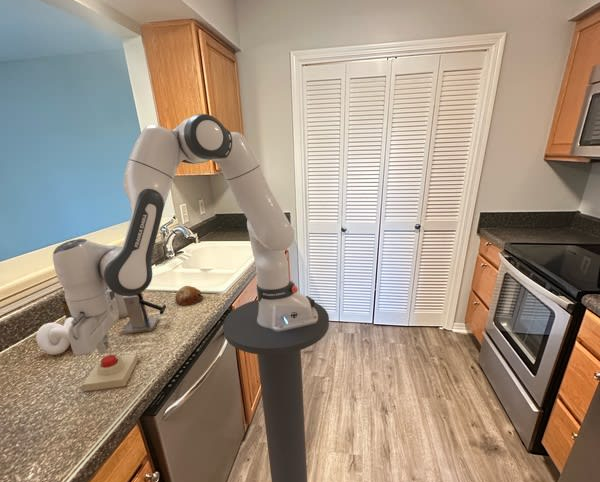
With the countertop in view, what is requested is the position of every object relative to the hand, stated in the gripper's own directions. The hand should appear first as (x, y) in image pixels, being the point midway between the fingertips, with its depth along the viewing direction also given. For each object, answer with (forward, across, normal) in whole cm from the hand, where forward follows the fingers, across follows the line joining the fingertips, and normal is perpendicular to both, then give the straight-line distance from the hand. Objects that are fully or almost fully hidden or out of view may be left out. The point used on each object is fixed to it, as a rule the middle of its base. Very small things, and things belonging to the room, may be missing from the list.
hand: (104, 350), depth 87 cm
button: (+5, 0, 0) cm, 5 cm away
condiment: (+8, +30, +22) cm, 38 cm away
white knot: (+8, +18, +20) cm, 28 cm away
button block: (+8, 0, 0) cm, 8 cm away
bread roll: (+8, +46, -14) cm, 49 cm away
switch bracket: (+8, +27, 0) cm, 28 cm away
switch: (0, +27, -3) cm, 27 cm away
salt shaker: (+8, +38, +10) cm, 40 cm away
